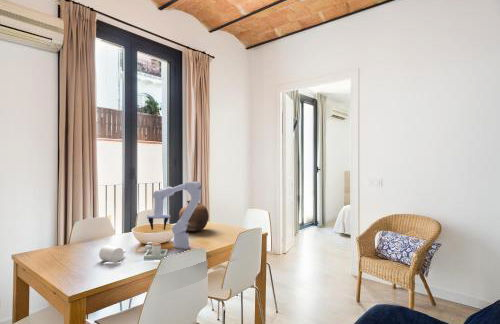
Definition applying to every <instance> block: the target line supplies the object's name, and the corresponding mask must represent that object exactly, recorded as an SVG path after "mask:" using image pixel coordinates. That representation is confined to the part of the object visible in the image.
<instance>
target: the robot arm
mask: <svg viewBox="0 0 500 324" xmlns="http://www.w3.org/2000/svg"><path fill="white" fill-rule="evenodd" d="M202 189H203V186H202V185H201V182H199V181H197V180H196V181H192V182H191V181H190V182H185V183H182V184H179V185H176V186H174V187H172V186H169V185H168V186H166V187H165V188H160V189H159V190H155V191H153V193H152V198H153V201H154V207H153V210H154V211H153V212H154V213H153V214H150V215H149V214H148V215H147V216H146V219H147V220H148V223H149V225H150V228H151V231H153V230H154V219H163V230H165V231H166V227H167V223H168V221H169V219H171V214H170V215H169V214H164V201H165V198H167V197H171V196H174V194H175V193H176V192H179V191H180V192H181V191H183V190H184V191H187V192H188V194H189V195H190V197H191V198H190V202H189V204H188V203H187V204H188V206H187V207H186V209H185V211H184V213H183V215H182V216H181V218H179V219H178V221H177V222H175V224H174V225H173V226H172V228H171V230H172V233H173V248H177V249H179V248H180V249H182V250H185V249H186V250H187V249H189V245H190V242H189V239H190V238H189V235H190V234H189V233H188V232H187V231H186V230H187V225H188V220H189V219H190V217H191V215H192V213H193V212H194V210H195V208H196V206H197V204H198V203H200V201H201V199H202Z"/></svg>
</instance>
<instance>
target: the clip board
mask: <svg viewBox="0 0 500 324" xmlns="http://www.w3.org/2000/svg"><path fill="white" fill-rule="evenodd" d="M152 243H154V242H152V241H151V242H150V241H149V242H147V243H146V245H145V246H138V247H137V249H136V250H135V253H146V252H147V250H152ZM162 247H163V246H161V248H162Z"/></svg>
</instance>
